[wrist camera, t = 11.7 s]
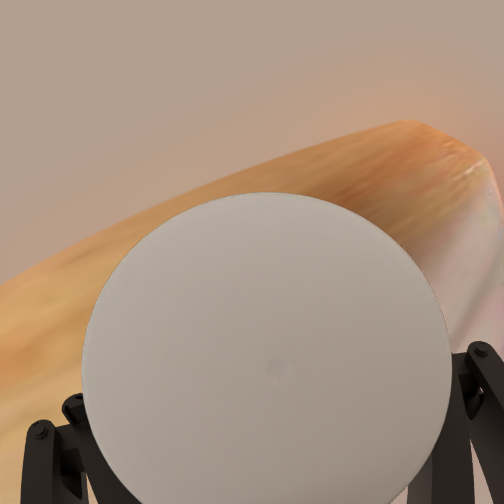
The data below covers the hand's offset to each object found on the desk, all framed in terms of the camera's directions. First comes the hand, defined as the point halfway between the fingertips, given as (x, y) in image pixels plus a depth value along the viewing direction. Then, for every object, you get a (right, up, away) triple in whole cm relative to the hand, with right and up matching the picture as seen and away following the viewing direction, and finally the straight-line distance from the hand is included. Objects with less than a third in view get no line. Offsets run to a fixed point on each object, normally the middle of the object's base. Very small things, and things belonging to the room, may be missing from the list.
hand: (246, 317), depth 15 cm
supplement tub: (0, -5, +4) cm, 7 cm away
